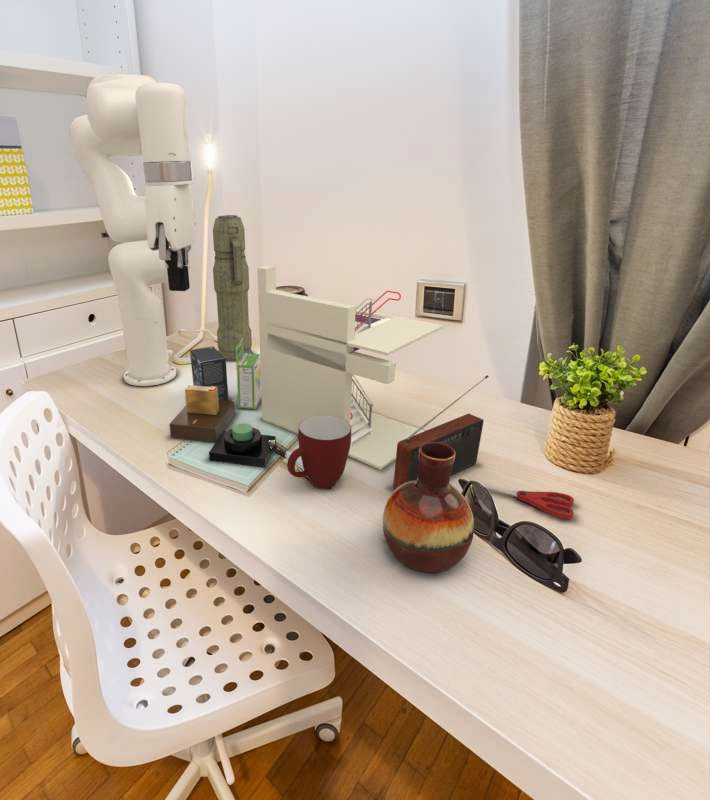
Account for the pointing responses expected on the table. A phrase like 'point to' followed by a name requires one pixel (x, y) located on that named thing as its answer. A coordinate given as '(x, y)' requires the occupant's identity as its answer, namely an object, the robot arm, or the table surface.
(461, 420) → the radio
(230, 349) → the green carrying bag
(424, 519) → the vase
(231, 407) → the plate
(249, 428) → the release button
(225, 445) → the button block
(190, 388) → the thumb turn
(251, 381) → the ink box
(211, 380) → the box
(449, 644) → the table surface
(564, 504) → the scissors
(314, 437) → the mug
